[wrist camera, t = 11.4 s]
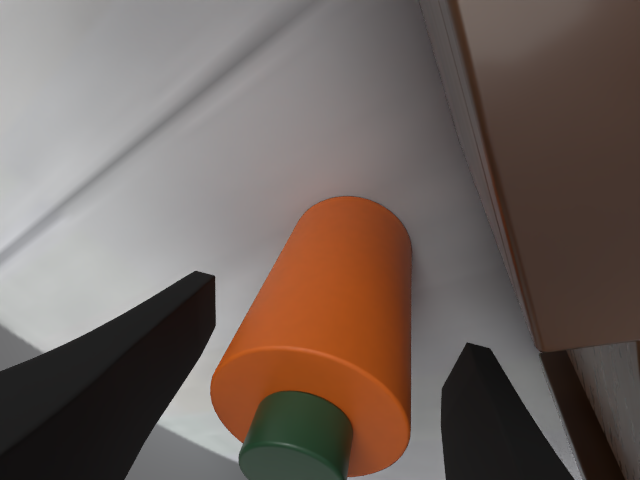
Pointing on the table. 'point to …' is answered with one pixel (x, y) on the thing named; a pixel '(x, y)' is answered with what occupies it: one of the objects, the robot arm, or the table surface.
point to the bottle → (325, 351)
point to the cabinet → (552, 153)
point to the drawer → (599, 407)
